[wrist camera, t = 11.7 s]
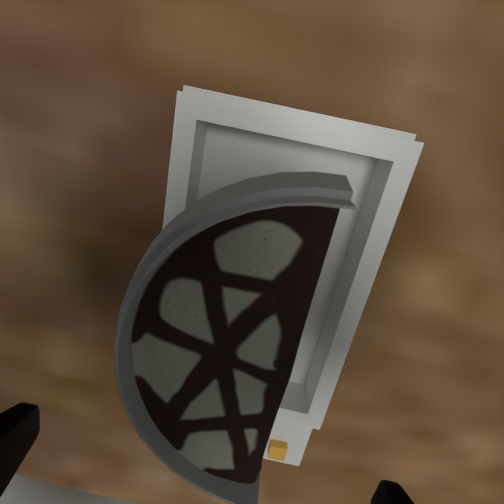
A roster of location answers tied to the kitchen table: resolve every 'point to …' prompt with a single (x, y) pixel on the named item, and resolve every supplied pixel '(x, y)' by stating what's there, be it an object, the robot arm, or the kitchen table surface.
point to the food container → (224, 324)
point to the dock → (344, 235)
